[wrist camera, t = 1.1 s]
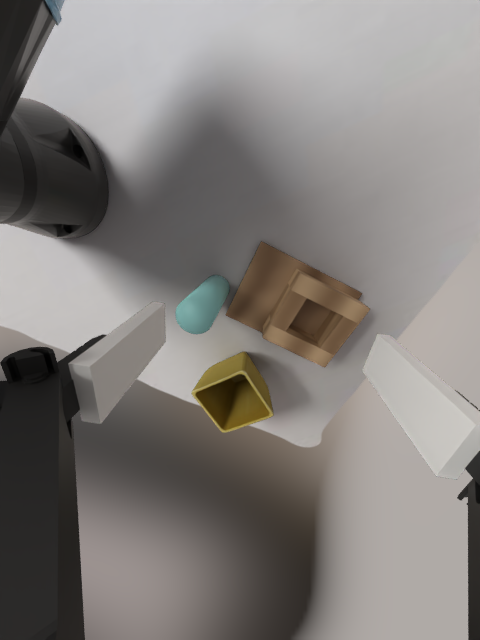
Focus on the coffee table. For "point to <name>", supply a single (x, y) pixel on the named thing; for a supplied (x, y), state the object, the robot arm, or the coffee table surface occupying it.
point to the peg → (202, 305)
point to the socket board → (271, 288)
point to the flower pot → (234, 393)
